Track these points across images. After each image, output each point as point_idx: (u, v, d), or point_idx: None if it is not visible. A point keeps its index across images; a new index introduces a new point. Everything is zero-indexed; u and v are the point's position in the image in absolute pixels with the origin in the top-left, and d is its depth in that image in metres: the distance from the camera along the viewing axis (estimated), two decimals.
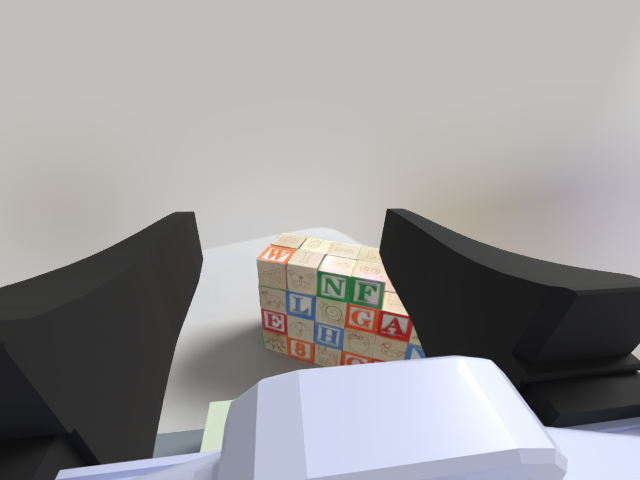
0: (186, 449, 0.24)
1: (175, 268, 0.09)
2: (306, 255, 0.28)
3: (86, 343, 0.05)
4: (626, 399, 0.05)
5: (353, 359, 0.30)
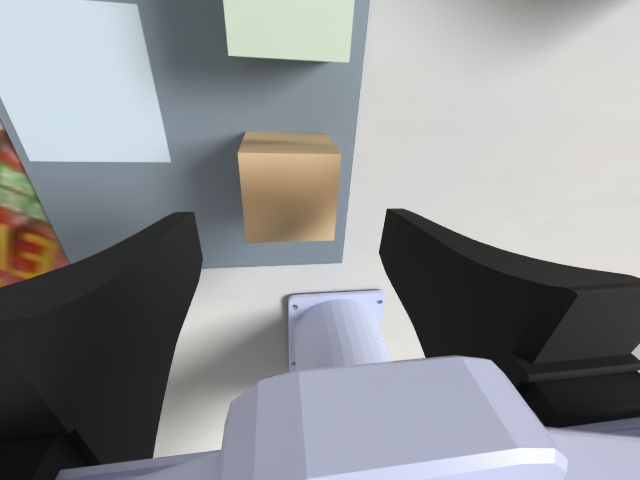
0: None
1: (175, 267, 0.09)
2: None
3: (86, 343, 0.05)
4: (626, 399, 0.05)
5: None
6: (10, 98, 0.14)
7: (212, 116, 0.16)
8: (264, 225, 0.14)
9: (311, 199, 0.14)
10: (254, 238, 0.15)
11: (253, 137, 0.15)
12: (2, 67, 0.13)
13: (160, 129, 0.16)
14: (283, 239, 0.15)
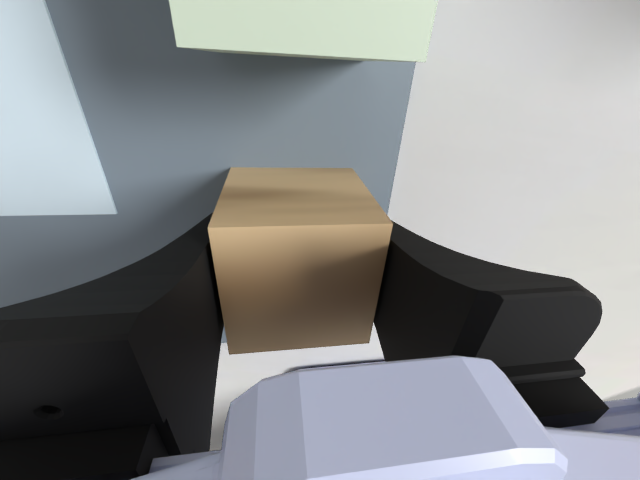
0: None
1: None
2: None
3: (171, 337, 0.05)
4: (562, 407, 0.05)
5: None
6: None
7: (177, 146, 0.10)
8: (258, 330, 0.09)
9: (337, 291, 0.08)
10: (242, 348, 0.09)
11: (241, 181, 0.09)
12: None
13: (96, 166, 0.10)
14: (289, 346, 0.09)
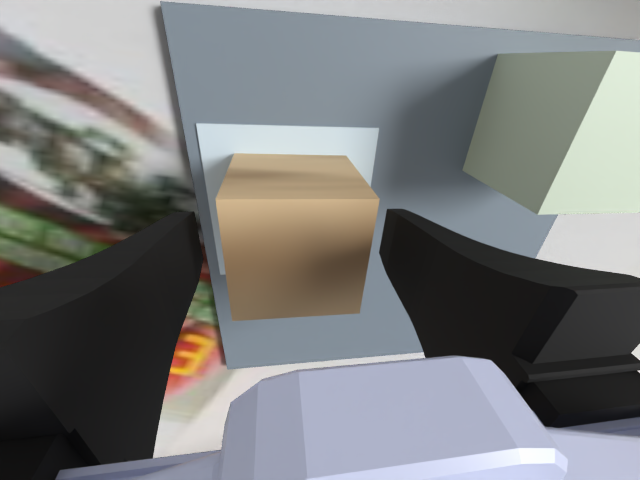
0: (437, 73, 0.11)
1: (176, 267, 0.09)
2: None
3: (86, 343, 0.05)
4: (626, 399, 0.05)
5: None
6: None
7: None
8: (258, 298, 0.10)
9: (330, 262, 0.09)
10: (244, 315, 0.10)
11: (244, 164, 0.10)
12: None
13: None
14: (286, 314, 0.10)
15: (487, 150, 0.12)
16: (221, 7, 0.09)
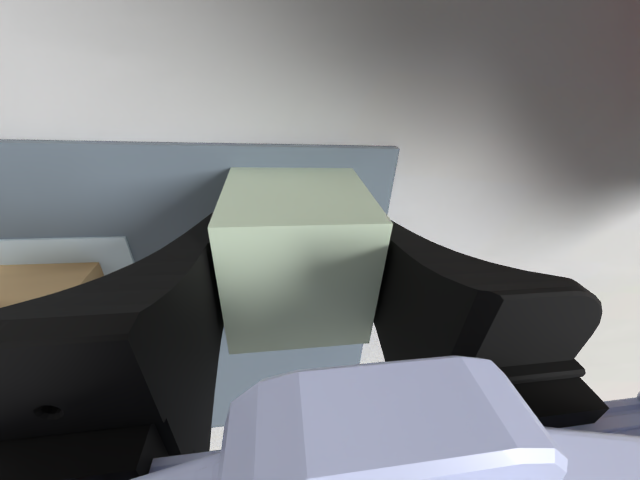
0: (168, 186, 0.11)
1: None
2: None
3: (171, 337, 0.05)
4: (562, 407, 0.05)
5: None
6: None
7: None
8: None
9: None
10: None
11: None
12: None
13: None
14: None
15: None
16: None
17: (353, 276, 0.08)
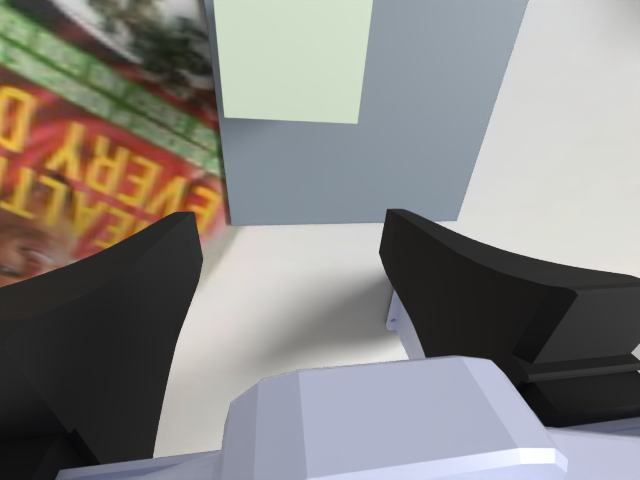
0: None
1: (175, 267, 0.09)
2: None
3: (86, 343, 0.05)
4: (626, 399, 0.05)
5: None
6: None
7: (383, 79, 0.18)
8: None
9: None
10: None
11: None
12: None
13: None
14: None
15: None
16: None
17: (342, 20, 0.09)
